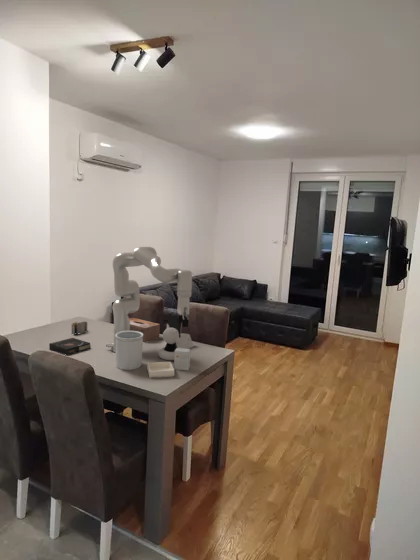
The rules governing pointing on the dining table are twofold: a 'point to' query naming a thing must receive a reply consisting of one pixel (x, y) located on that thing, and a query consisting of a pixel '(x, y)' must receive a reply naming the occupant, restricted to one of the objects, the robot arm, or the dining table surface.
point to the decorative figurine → (169, 343)
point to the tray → (160, 369)
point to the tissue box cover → (145, 329)
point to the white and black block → (184, 341)
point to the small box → (182, 359)
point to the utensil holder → (129, 349)
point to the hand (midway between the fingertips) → (183, 324)
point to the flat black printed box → (69, 346)
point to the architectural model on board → (79, 327)
